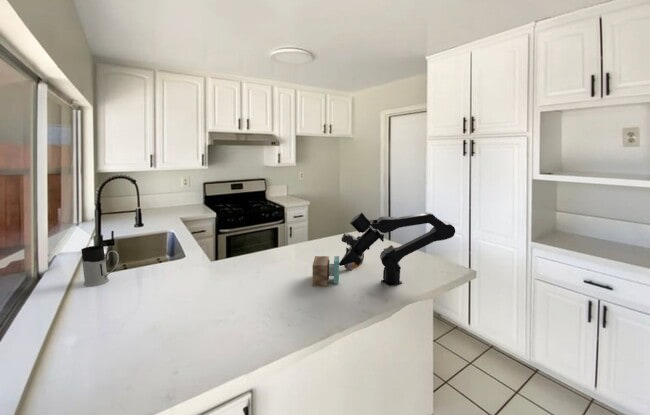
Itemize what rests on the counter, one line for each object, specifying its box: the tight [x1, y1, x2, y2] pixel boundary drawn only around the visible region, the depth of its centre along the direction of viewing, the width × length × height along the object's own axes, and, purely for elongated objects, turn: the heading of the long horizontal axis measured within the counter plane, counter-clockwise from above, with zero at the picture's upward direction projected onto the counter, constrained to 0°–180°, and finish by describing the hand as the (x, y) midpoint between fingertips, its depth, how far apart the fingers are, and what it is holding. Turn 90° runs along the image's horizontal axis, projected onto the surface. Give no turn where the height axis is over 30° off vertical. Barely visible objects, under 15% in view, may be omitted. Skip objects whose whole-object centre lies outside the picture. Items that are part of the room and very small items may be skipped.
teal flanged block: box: [329, 255, 340, 284], centre depth 137 cm, size 9×7×10 cm
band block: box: [312, 255, 331, 288], centre depth 137 cm, size 6×12×9 cm, turn 177°
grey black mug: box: [80, 245, 120, 288], centre depth 134 cm, size 9×14×15 cm, turn 94°
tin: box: [343, 252, 365, 271], centre depth 155 cm, size 15×3×8 cm, turn 143°
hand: (339, 265), depth 136 cm, fingers closed, pressing on teal flanged block
